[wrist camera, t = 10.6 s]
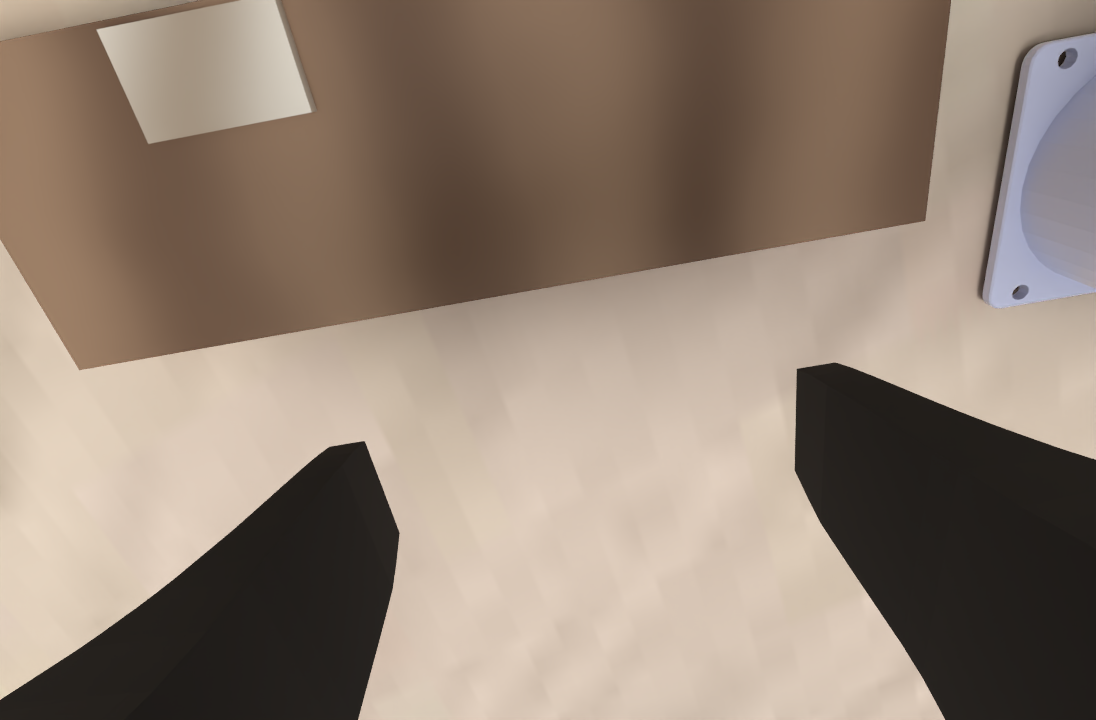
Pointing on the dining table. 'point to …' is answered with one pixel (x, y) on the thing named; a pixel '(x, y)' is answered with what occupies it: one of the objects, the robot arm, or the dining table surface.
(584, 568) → the dining table surface
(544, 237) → the walnut fence board
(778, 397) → the dining table surface
